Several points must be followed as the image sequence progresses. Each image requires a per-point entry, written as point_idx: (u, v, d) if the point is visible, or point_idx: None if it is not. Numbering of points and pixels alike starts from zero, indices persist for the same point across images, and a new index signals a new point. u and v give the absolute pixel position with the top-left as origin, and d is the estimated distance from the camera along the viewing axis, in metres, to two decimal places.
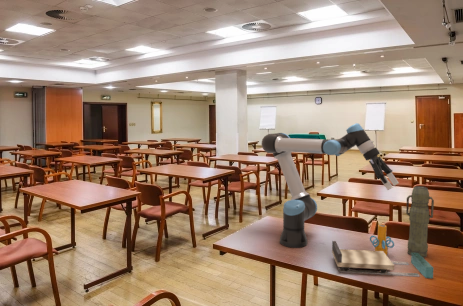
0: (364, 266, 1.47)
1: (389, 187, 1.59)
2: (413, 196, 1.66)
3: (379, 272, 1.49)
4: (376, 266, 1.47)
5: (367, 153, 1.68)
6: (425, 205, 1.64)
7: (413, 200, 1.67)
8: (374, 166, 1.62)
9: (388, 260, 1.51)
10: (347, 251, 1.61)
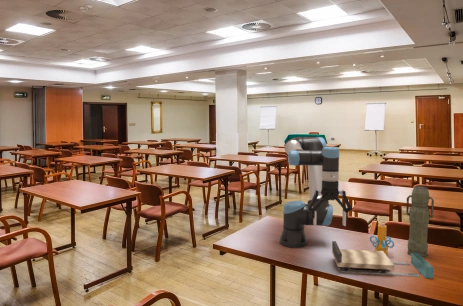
0: (364, 266, 1.47)
1: (314, 223, 1.56)
2: (413, 196, 1.66)
3: (379, 272, 1.49)
4: (376, 266, 1.47)
5: (321, 182, 1.55)
6: (425, 205, 1.64)
7: (413, 200, 1.67)
8: (312, 198, 1.55)
9: (388, 260, 1.51)
10: (347, 251, 1.61)
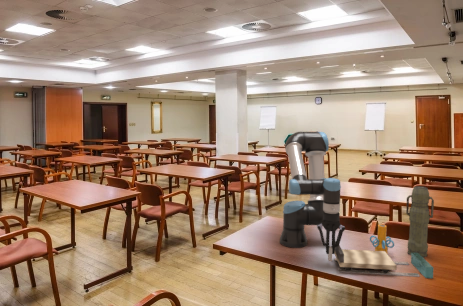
0: (366, 266, 1.47)
1: (328, 258, 1.57)
2: (413, 196, 1.66)
3: (379, 272, 1.49)
4: (378, 266, 1.47)
5: (323, 213, 1.56)
6: (425, 205, 1.64)
7: (413, 200, 1.67)
8: (320, 234, 1.57)
9: (390, 260, 1.51)
10: (349, 251, 1.61)
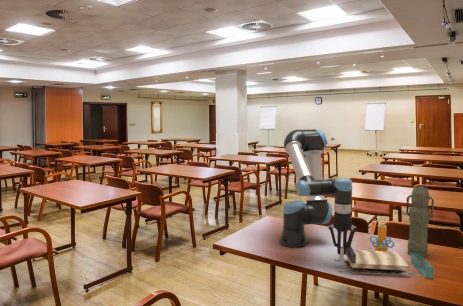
0: (378, 267, 1.47)
1: (339, 259, 1.56)
2: (413, 196, 1.66)
3: (379, 272, 1.49)
4: (390, 267, 1.46)
5: (334, 213, 1.55)
6: (425, 205, 1.64)
7: (413, 200, 1.67)
8: (331, 234, 1.56)
9: (402, 261, 1.50)
10: (360, 252, 1.60)
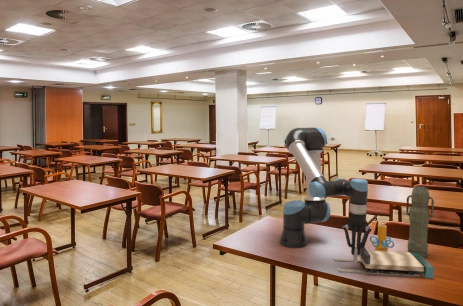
0: (393, 268, 1.46)
1: (353, 259, 1.55)
2: (413, 196, 1.66)
3: (379, 272, 1.49)
4: (405, 268, 1.45)
5: (349, 213, 1.54)
6: (425, 205, 1.64)
7: (413, 200, 1.67)
8: None
9: (417, 261, 1.49)
10: (373, 252, 1.59)
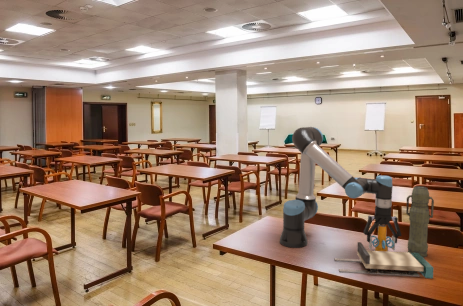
0: (393, 268, 1.46)
1: (369, 246, 1.71)
2: (413, 196, 1.66)
3: (379, 272, 1.49)
4: (404, 268, 1.45)
5: (375, 208, 1.69)
6: (425, 205, 1.64)
7: (413, 200, 1.67)
8: (367, 223, 1.70)
9: (416, 261, 1.49)
10: (373, 252, 1.59)
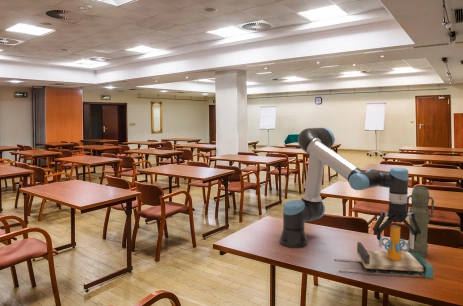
0: (392, 268, 1.46)
1: (379, 244, 1.53)
2: (413, 196, 1.66)
3: (379, 272, 1.49)
4: (404, 268, 1.45)
5: None
6: (425, 205, 1.64)
7: (413, 200, 1.67)
8: (378, 220, 1.52)
9: (416, 261, 1.49)
10: (372, 252, 1.59)
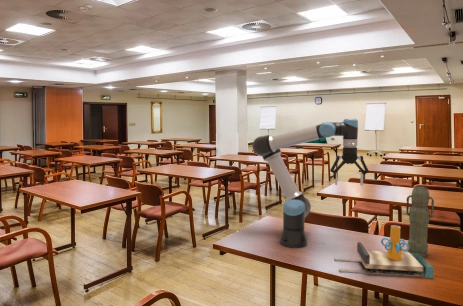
0: (392, 268, 1.46)
1: (335, 183, 1.85)
2: (413, 196, 1.66)
3: (379, 272, 1.49)
4: (404, 268, 1.45)
5: None
6: (425, 205, 1.64)
7: (413, 200, 1.67)
8: (334, 162, 1.84)
9: (416, 261, 1.49)
10: (373, 252, 1.59)
